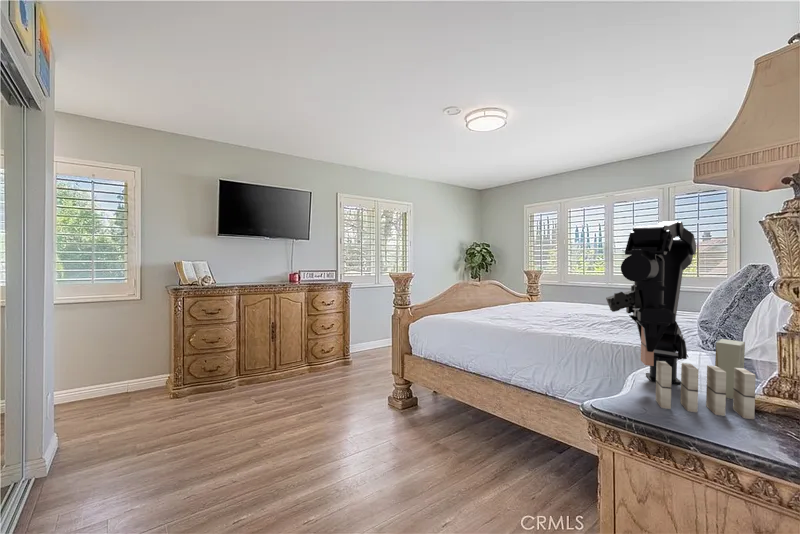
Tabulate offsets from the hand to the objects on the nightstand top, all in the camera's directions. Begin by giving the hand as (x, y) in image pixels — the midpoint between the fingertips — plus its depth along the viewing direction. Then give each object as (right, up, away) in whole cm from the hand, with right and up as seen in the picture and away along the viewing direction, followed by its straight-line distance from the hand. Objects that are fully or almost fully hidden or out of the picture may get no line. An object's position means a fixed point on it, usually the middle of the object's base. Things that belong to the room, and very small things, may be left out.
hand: (647, 349), depth 91 cm
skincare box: (+18, -10, -1) cm, 20 cm away
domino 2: (+3, -10, -9) cm, 14 cm away
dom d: (+7, -10, -11) cm, 16 cm away
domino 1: (0, -3, 0) cm, 3 cm away
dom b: (-2, -10, -8) cm, 13 cm away
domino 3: (+11, -10, -13) cm, 20 cm away
